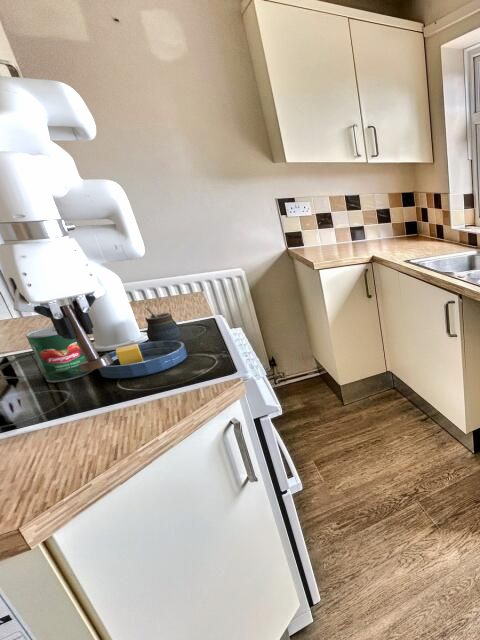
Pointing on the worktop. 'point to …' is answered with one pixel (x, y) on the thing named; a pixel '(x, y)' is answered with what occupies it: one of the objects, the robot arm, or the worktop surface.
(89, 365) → the muddler
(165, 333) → the mate gourd
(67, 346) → the canned tomato
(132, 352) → the block
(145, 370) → the bowl
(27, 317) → the worktop surface
